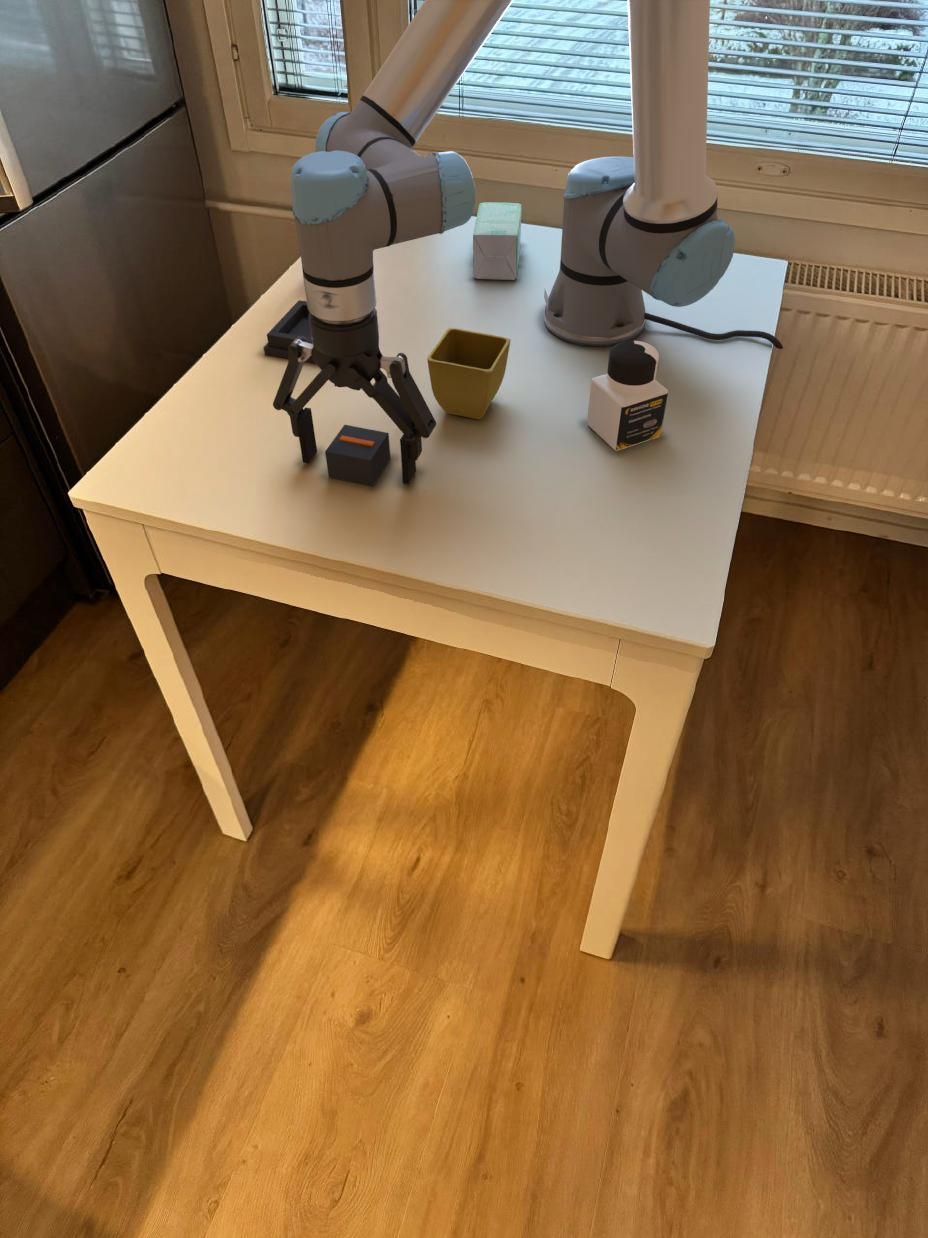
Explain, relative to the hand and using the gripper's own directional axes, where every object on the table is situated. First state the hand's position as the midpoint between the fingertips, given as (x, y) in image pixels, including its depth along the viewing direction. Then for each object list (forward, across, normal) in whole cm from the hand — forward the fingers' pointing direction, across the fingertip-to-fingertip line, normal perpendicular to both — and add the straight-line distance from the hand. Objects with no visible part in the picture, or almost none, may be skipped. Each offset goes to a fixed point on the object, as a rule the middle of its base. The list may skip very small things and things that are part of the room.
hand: (359, 467), depth 115 cm
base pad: (0, -18, +27) cm, 32 cm away
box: (0, 0, +60) cm, 60 cm away
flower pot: (0, +9, +17) cm, 19 cm away
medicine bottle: (0, +30, +18) cm, 35 cm away
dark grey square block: (0, 0, 0) cm, 0 cm away
